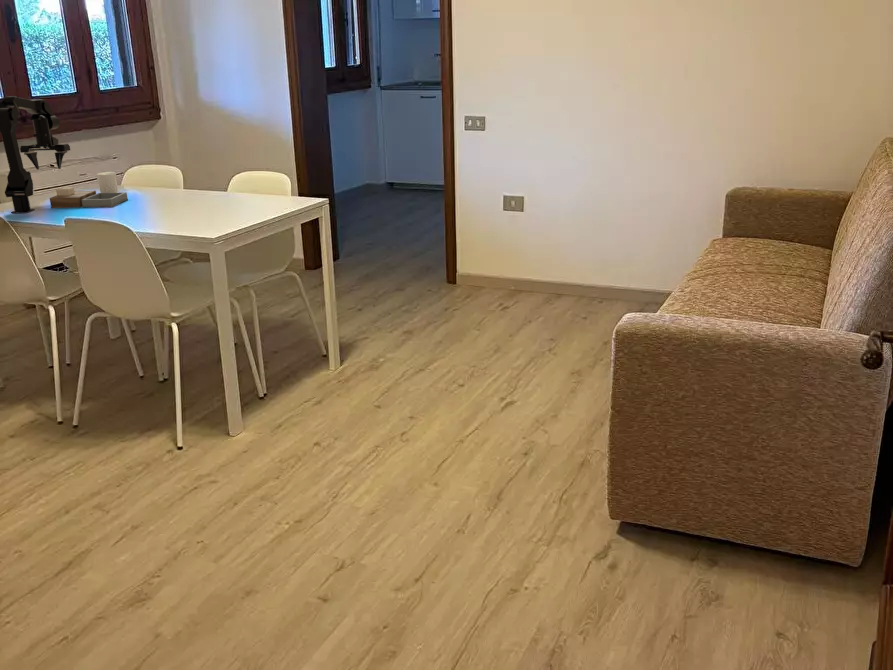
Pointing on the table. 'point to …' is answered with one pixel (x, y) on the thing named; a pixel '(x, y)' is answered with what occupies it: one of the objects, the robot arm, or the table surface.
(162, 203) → the table surface
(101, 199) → the box
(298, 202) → the table surface
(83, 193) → the plate
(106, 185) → the white cup
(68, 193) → the tile
